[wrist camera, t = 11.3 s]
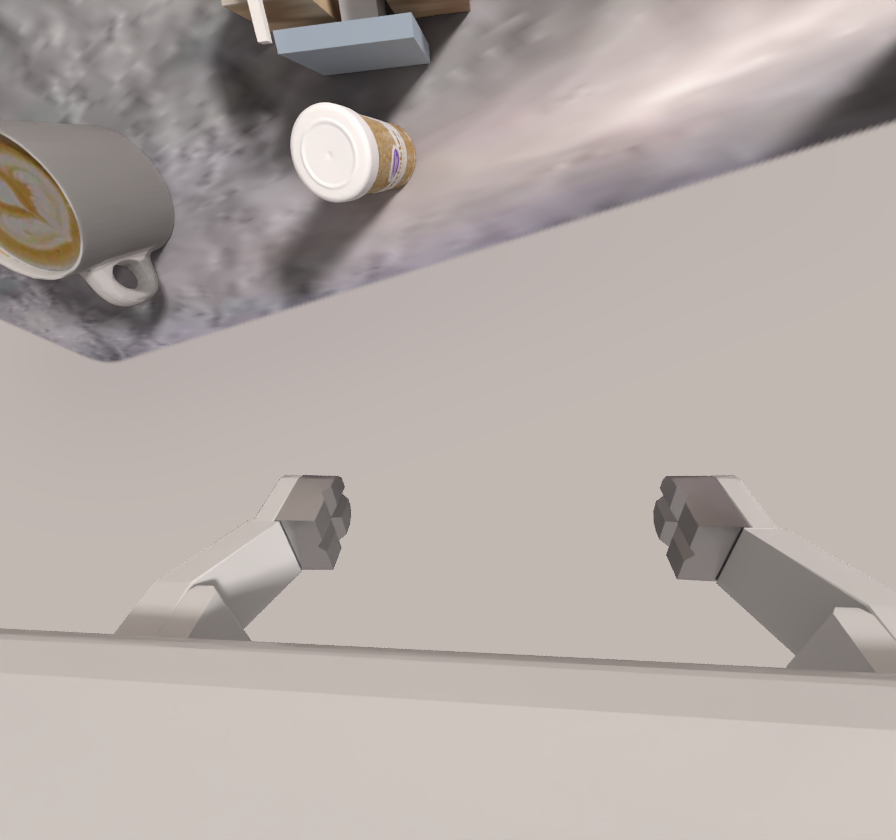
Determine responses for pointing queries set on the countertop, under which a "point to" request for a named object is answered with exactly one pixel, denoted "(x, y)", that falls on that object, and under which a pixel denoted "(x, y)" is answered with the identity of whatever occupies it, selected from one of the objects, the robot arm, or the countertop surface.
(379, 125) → the sprinkles bottle
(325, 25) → the gauge plunger
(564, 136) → the countertop surface
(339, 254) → the countertop surface
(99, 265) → the coffee mug
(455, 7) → the tan and green block
